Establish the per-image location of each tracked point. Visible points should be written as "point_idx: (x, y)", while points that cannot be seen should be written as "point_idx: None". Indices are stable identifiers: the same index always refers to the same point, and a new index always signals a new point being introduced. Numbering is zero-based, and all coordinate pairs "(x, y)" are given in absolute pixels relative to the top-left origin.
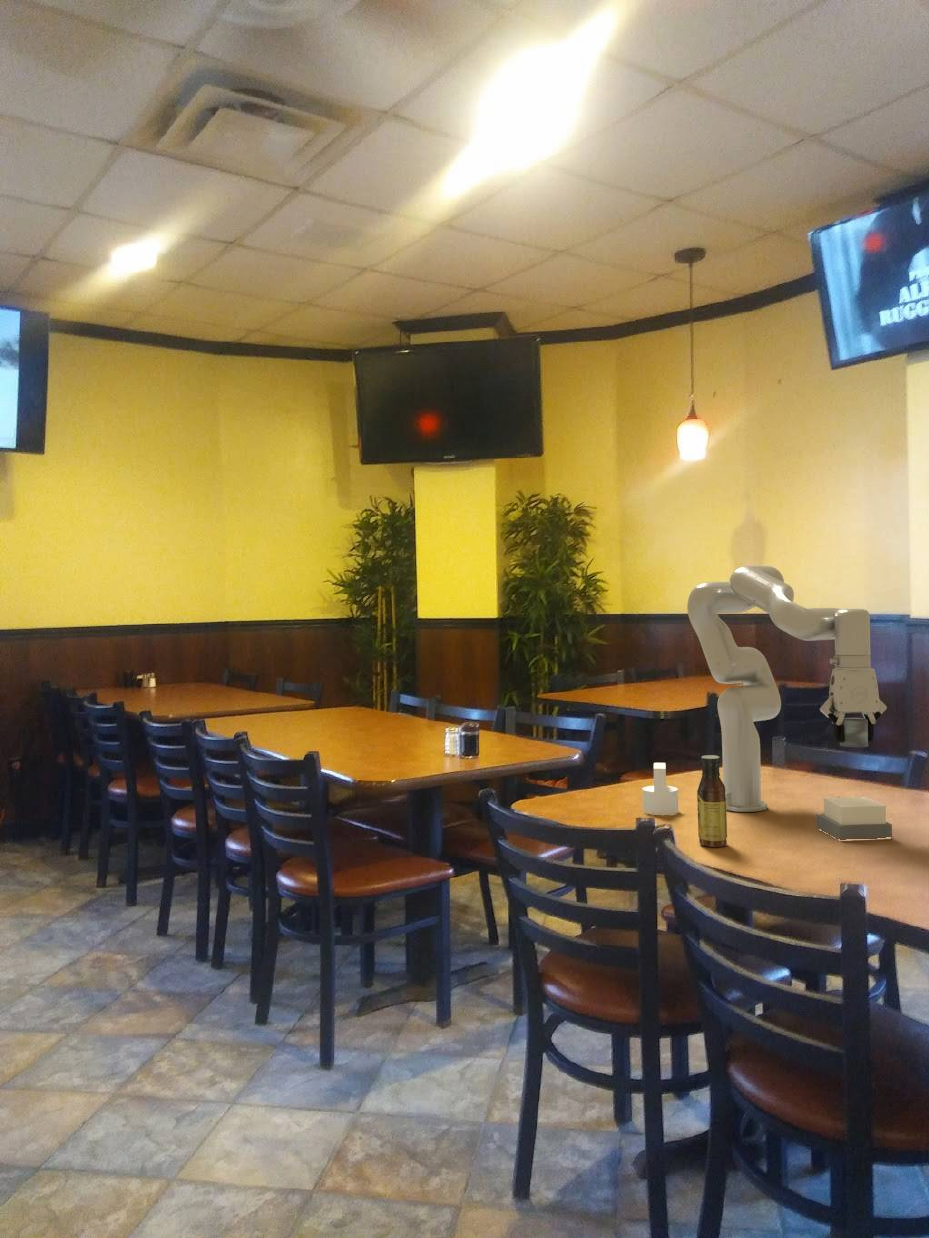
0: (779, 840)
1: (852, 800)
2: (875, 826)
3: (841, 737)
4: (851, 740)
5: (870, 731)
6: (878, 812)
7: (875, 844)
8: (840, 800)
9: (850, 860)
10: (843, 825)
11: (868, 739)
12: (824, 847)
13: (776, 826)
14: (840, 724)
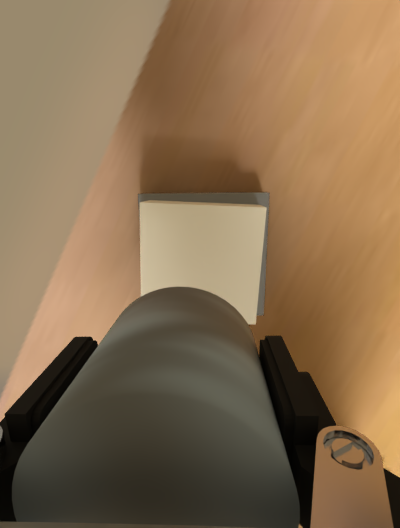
0: (384, 222)
1: (195, 284)
2: (179, 193)
3: (287, 352)
4: (227, 316)
5: (58, 371)
6: (162, 202)
7: (199, 158)
8: (227, 288)
9: (322, 20)
10: (256, 200)
11: (94, 350)
12: (320, 148)
13: (328, 334)
14: (325, 431)
